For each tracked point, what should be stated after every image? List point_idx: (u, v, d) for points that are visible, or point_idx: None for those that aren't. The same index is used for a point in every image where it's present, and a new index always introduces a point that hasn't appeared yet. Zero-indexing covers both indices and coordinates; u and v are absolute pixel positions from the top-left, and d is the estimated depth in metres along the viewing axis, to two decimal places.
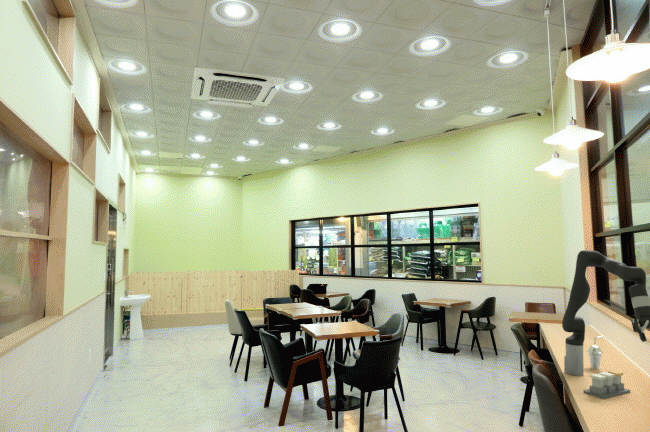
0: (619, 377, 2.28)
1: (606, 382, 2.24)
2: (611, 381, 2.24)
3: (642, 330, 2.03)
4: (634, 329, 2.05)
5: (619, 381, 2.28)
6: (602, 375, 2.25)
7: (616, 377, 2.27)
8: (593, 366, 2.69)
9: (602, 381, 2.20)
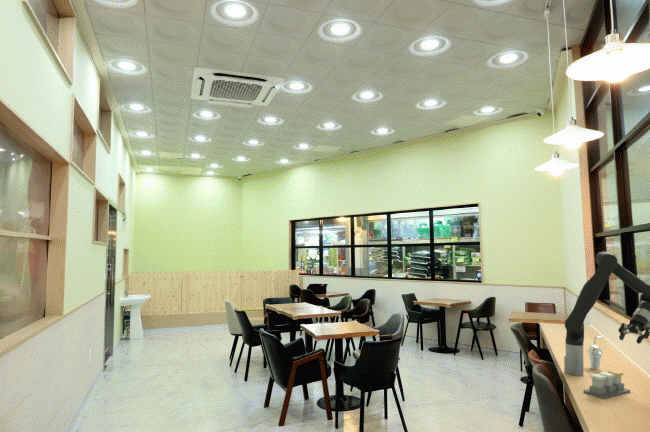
0: (619, 377, 2.28)
1: (606, 382, 2.24)
2: (611, 381, 2.24)
3: None
4: None
5: (619, 381, 2.28)
6: (602, 375, 2.25)
7: (616, 377, 2.27)
8: (593, 366, 2.69)
9: (602, 381, 2.20)
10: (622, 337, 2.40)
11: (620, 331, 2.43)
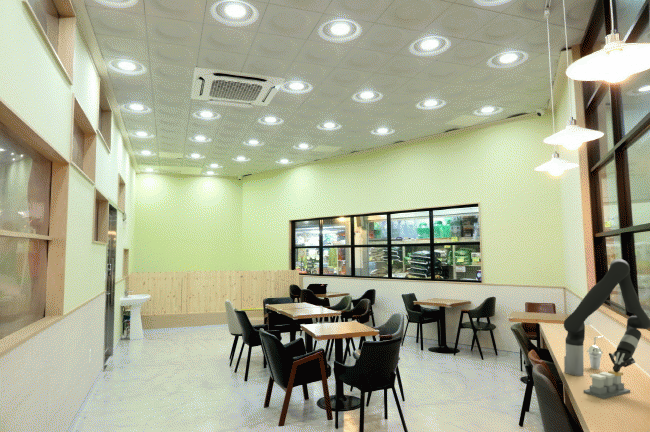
0: (619, 377, 2.28)
1: (606, 382, 2.24)
2: (611, 381, 2.24)
3: None
4: None
5: (619, 381, 2.28)
6: (602, 375, 2.25)
7: (616, 377, 2.27)
8: (593, 366, 2.69)
9: (602, 381, 2.20)
10: None
11: (614, 361, 2.32)
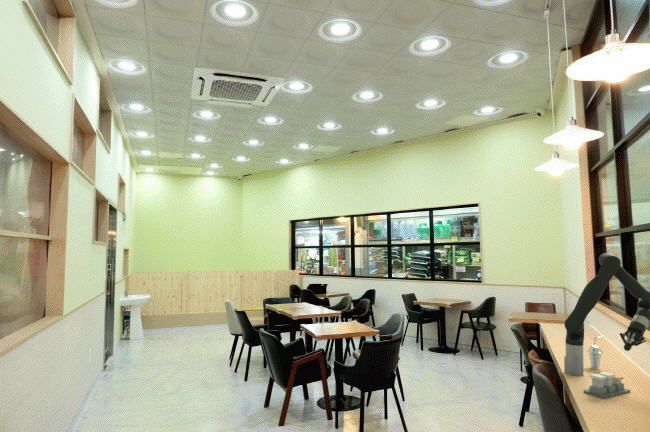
0: (619, 381, 2.28)
1: (606, 382, 2.24)
2: (611, 381, 2.24)
3: None
4: None
5: None
6: (602, 375, 2.25)
7: (616, 381, 2.27)
8: (593, 366, 2.69)
9: (602, 381, 2.20)
10: None
11: (625, 340, 2.38)
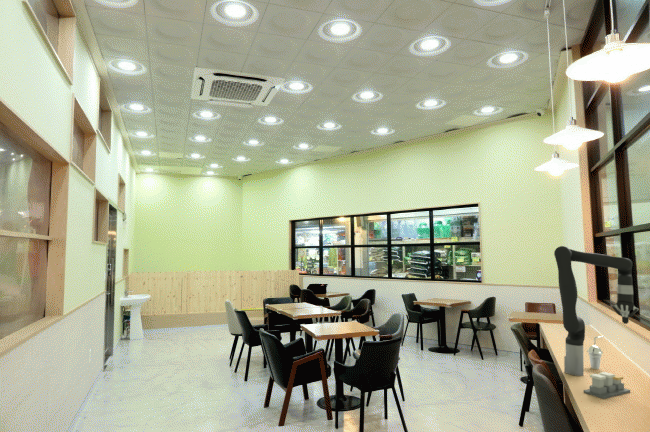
0: (619, 381, 2.28)
1: (606, 382, 2.24)
2: (611, 381, 2.24)
3: None
4: None
5: None
6: (602, 375, 2.25)
7: (616, 381, 2.27)
8: (593, 366, 2.69)
9: (602, 381, 2.20)
10: None
11: (620, 314, 2.49)
